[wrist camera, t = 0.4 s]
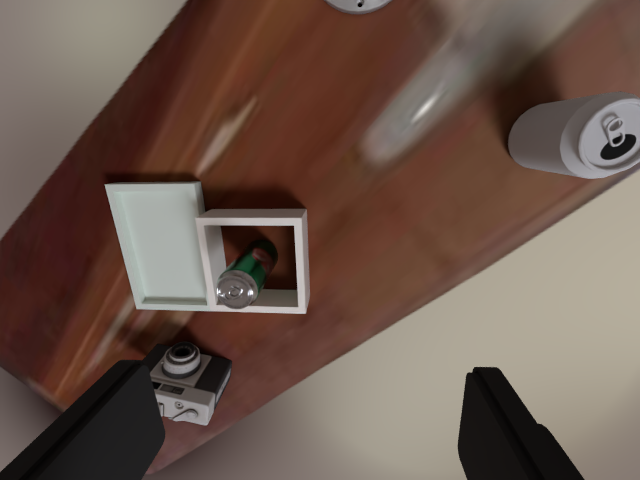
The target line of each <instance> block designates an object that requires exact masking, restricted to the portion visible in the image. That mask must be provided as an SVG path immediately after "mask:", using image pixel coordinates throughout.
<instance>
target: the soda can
mask: <svg viewBox="0 0 640 480" xmlns="http://www.w3.org/2000/svg"><path fill="white" fill-rule="evenodd" d="M277 261H278V253H277V250H276V248H275V247H274V246H273V245H272V244H271V243H270V242H268V241H265V240H255V241H252V242H251V243H250V244H248V246H247V247H246V248H245V249H244V250H243V251H242V252H241V253H240V254H239V255H238V257H237V258H236V259H235V260H234V261H233V262H232V263H231V264H230V265H229V266H228V267H227V269H226V270H225V271H224V272H223V273H222V274H221V275H220V277H219V278H218V281H217V288H216V293H217V296H218V299H219V300H220V301H221V303H222V304H224V305H225V306H227V307H228V308H231V309H243V308H245V307H247V306H249V305H251V304H253V303H254V302H255V301H256V299H257V298H258V296H259V294H260V292H261V290H262V289H263V287H264V285H265V283H266V281H267V280H268V278H269V276H270V274H271V272H272V271H273V269H274V267H275V265H276V263H277Z"/></svg>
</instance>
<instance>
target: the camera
mask: <svg viewBox="0 0 640 480" xmlns="http://www.w3.org/2000/svg"><path fill="white" fill-rule="evenodd" d="M142 362H144V365H145V366H147V367H148V369H149V372H150V376H151V380H152V384H153V387H154V391H155V395H156V399H157V402H158V406H159V410H160V414H161V416H163V415H164V416H166V417H169V418H168V419H173V420H174V421H183V420H184V421H188V422H192V423H197V424H201V425H207V424H208V422H209V420H210V418H211V416H212V414H213V412H214V410H215V408H216V406H217V404H218V402H219V400H220V398H221V396H222V394H223V392H224V390H225V388H226V385H227V383H228V381H229V378H230V374H231V366H232V361H231V360H227V359H223V358H219V357H214V356H210V355H205V354H201V353H200V351H199V349H198V348H197V347H196V346H195V345H193V344H192V343H190V342H179V343H176V344H175V345H173V346H172V347H170V346H165V345H161V344H157V345H156V346H155V347H154V348H153V349H152V350H151V352H150V353H149V354H148V355H147V356H146V357H145V358H144V359H143V360H142Z"/></svg>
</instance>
